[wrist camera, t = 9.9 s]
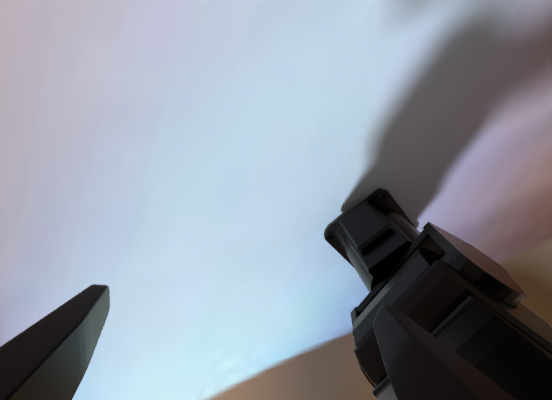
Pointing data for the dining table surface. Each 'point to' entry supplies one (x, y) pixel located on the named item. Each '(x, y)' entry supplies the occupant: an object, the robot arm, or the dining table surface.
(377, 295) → the robot arm
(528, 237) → the dining table surface
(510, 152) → the dining table surface
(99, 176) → the dining table surface
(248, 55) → the dining table surface
